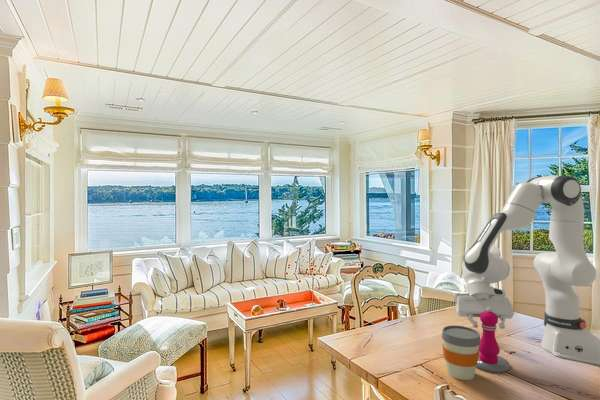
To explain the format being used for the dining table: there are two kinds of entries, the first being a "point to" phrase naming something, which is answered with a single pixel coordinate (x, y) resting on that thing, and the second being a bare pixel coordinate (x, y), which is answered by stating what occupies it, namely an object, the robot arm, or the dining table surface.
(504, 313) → the robot arm
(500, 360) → the plate
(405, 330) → the dining table surface
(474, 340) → the reusable coffee cup
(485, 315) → the pepper mill
